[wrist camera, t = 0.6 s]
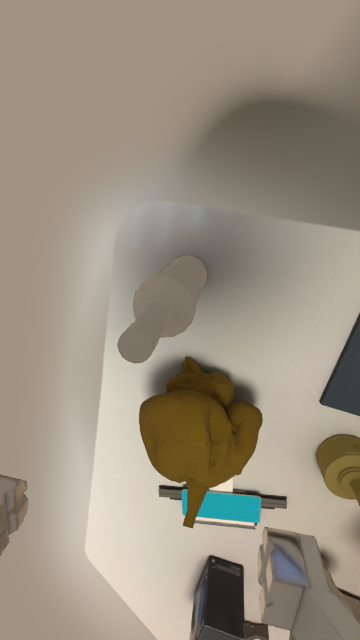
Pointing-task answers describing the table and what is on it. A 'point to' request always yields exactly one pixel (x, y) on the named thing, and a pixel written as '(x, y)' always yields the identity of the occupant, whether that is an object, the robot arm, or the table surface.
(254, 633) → the animal figurine
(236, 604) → the small box
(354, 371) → the slate mat
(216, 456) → the gourd
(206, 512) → the phone stand
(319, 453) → the sculpture
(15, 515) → the robot arm
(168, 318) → the bottle
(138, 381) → the table surface
